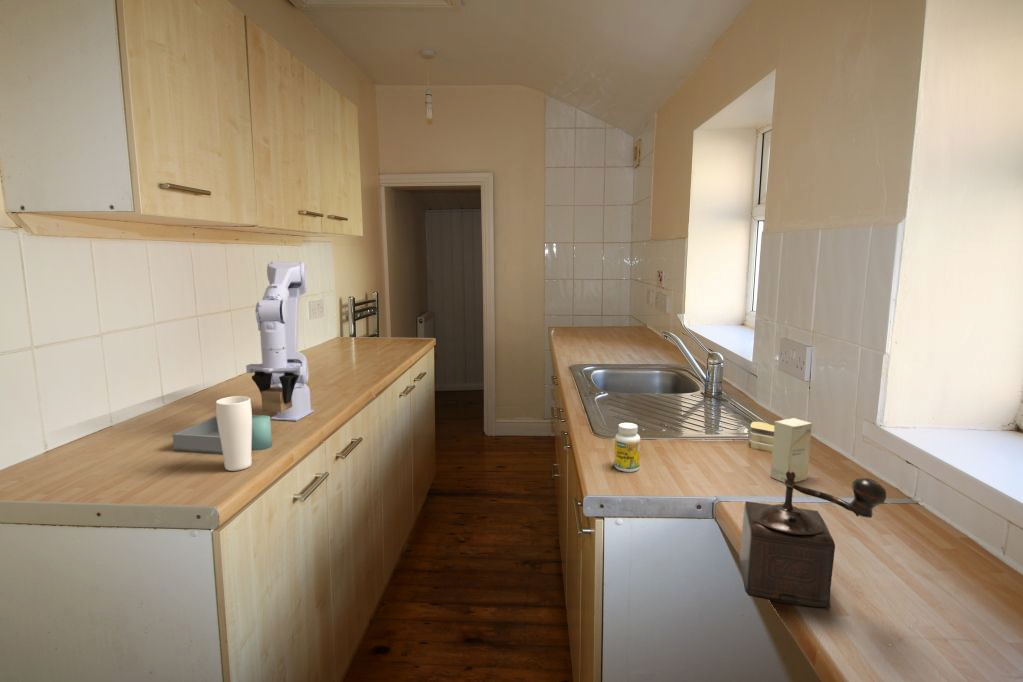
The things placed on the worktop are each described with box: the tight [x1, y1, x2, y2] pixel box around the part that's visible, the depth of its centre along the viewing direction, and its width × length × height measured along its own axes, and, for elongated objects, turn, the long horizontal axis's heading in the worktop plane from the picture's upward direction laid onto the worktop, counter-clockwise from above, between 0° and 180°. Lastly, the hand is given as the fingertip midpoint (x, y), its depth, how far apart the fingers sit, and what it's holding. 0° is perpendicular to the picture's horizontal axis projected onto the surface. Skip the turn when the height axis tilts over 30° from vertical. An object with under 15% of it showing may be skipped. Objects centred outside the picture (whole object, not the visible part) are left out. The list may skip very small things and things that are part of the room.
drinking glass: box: [215, 395, 253, 472], centre depth 118 cm, size 7×7×15 cm
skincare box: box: [770, 417, 813, 483], centre depth 114 cm, size 6×4×12 cm
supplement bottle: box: [614, 422, 641, 473], centre depth 119 cm, size 5×5×10 cm
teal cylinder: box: [252, 414, 273, 451], centre depth 131 cm, size 5×5×7 cm
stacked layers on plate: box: [748, 421, 775, 453], centre depth 133 cm, size 10×9×6 cm
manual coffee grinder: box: [739, 471, 887, 608], centre depth 76 cm, size 16×11×18 cm
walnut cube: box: [260, 386, 292, 413], centre depth 138 cm, size 5×5×5 cm
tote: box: [172, 414, 261, 455], centre depth 136 cm, size 17×13×4 cm
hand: (277, 401), depth 138 cm, fingers closed on walnut cube, 5 cm apart
